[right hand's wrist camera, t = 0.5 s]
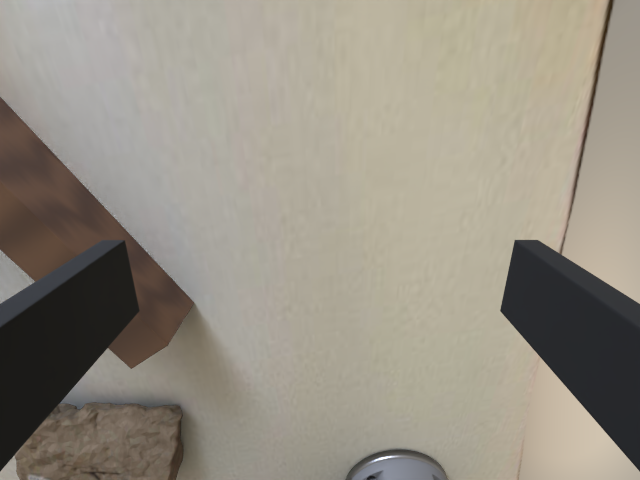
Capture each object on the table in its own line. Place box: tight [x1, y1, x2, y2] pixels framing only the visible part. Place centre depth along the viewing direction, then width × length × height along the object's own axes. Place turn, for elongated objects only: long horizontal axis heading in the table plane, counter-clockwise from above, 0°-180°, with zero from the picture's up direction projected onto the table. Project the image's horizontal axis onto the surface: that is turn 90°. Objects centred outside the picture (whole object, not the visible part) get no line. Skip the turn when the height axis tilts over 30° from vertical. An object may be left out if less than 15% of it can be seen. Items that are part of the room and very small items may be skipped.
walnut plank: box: [0, 97, 194, 369], centre depth 35 cm, size 30×5×8 cm, turn 35°
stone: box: [15, 402, 183, 480], centre depth 47 cm, size 21×15×6 cm
